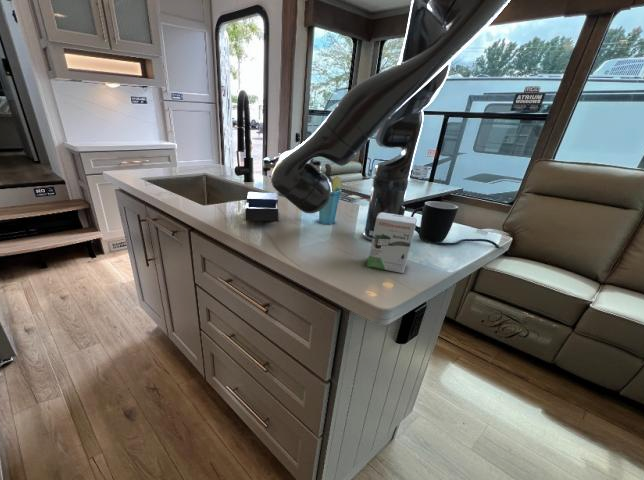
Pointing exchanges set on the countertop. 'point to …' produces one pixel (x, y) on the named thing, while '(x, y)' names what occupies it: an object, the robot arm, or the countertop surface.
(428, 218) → the mug
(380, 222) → the ink box
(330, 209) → the cup
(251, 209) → the storage box
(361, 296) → the countertop surface
